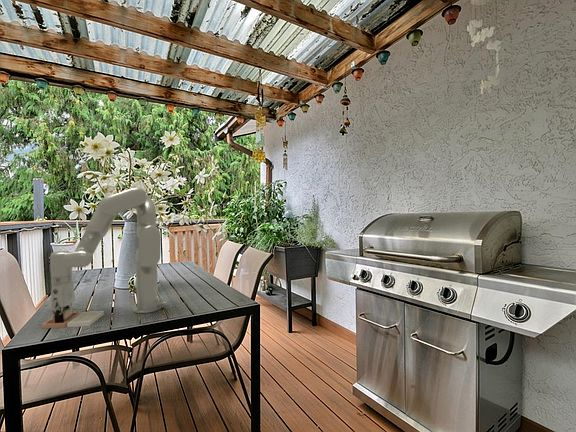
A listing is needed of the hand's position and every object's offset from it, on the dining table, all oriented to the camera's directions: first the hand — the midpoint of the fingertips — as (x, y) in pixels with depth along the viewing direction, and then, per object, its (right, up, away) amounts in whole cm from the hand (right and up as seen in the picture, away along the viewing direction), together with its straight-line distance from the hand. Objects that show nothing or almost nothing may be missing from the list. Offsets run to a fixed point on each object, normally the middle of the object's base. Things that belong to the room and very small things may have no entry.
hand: (63, 320), depth 138 cm
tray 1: (0, -1, 0) cm, 1 cm away
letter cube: (0, 0, 0) cm, 0 cm away
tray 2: (+9, -1, +1) cm, 10 cm away
